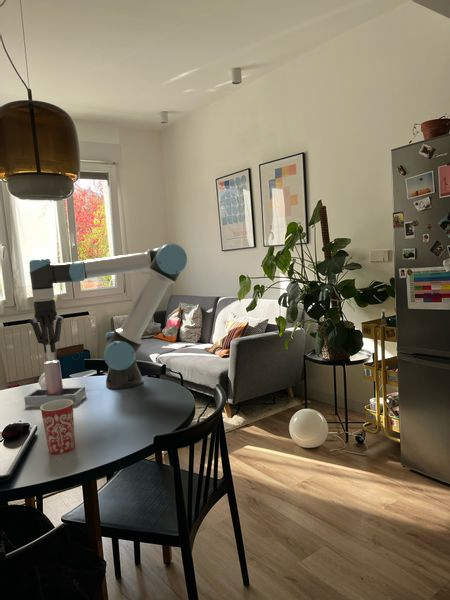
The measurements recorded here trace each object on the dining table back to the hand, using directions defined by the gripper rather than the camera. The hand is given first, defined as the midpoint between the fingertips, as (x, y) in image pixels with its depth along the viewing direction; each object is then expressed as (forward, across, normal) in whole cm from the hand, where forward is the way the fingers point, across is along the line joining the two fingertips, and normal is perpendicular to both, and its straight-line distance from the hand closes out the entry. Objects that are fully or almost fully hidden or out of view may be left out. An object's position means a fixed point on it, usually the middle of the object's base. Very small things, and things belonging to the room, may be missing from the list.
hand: (51, 360), depth 174 cm
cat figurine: (+17, +10, -16) cm, 25 cm away
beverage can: (+16, 0, 0) cm, 16 cm away
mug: (+17, -21, +41) cm, 49 cm away
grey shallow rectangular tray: (+17, 0, 0) cm, 17 cm away
